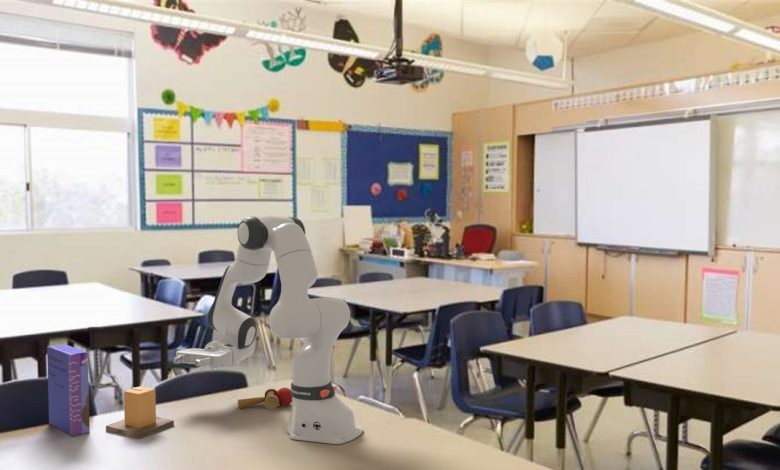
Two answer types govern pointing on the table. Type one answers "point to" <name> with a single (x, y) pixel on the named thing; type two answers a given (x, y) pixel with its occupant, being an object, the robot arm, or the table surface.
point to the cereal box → (68, 389)
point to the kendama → (269, 399)
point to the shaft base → (139, 432)
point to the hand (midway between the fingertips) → (186, 362)
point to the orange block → (140, 406)
